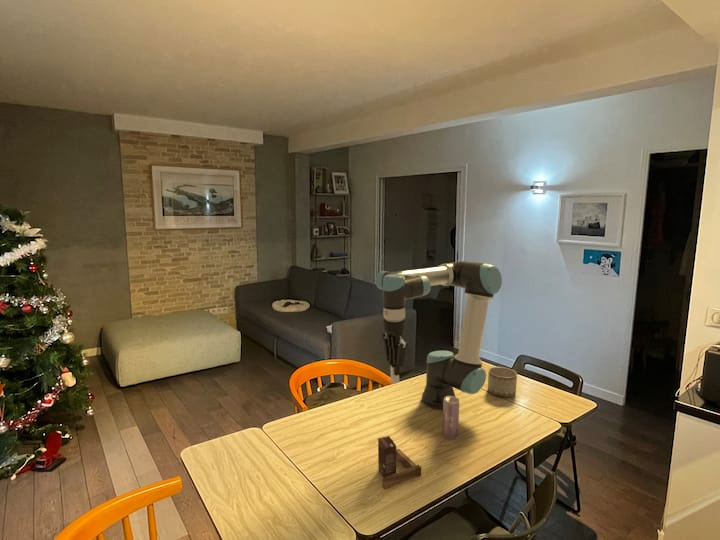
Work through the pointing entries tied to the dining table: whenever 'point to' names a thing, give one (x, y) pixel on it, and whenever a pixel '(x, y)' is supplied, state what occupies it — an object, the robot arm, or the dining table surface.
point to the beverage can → (450, 417)
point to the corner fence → (405, 475)
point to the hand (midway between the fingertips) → (395, 382)
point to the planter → (502, 381)
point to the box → (386, 456)
